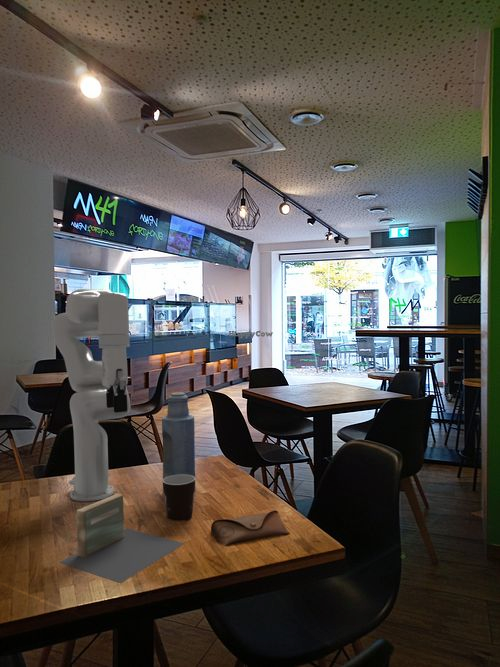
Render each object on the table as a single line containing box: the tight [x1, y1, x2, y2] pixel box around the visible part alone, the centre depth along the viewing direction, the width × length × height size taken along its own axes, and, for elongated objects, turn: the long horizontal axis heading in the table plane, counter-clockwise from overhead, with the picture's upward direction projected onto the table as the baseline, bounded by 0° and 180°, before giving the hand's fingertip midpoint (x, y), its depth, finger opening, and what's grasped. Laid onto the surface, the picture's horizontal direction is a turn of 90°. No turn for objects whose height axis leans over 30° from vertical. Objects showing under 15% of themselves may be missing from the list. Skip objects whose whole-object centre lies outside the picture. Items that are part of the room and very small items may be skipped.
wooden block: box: [76, 493, 125, 557], centre depth 115 cm, size 2×12×10 cm, turn 149°
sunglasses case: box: [210, 510, 291, 547], centre depth 122 cm, size 18×7×7 cm
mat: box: [59, 527, 185, 584], centre depth 112 cm, size 18×20×1 cm
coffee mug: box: [161, 474, 196, 522], centre depth 134 cm, size 12×9×10 cm
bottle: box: [161, 391, 196, 494], centre depth 152 cm, size 10×10×30 cm
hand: (116, 409), depth 127 cm, fingers open, 9 cm apart
